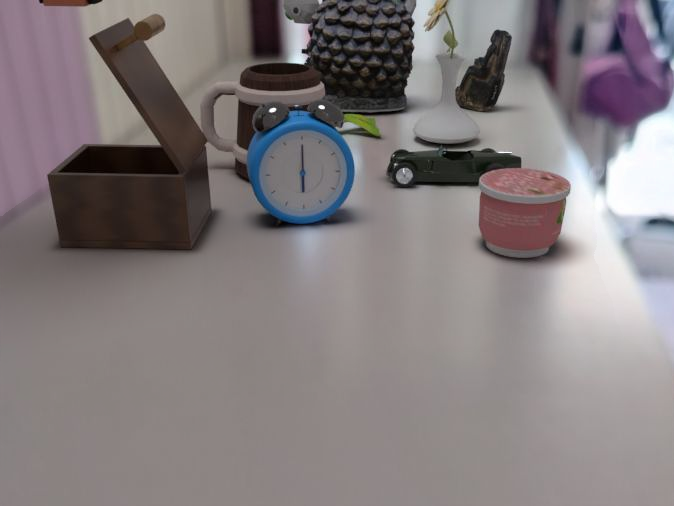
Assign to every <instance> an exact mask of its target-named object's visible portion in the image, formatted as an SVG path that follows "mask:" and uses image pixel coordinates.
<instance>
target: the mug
mask: <svg viewBox="0 0 674 506" xmlns="http://www.w3.org/2000/svg"><path fill="white" fill-rule="evenodd" d="M239 76H240V77H239V81H230V80H229V81H217V82H214V83H213V84H211V86H209V87H208V88H207V89H206V90H205V92H204V95H203V96H202V99H201V101H200V103H199V106H200V108H199V109H200V129H201V131H202V132H203V134H204V135H205V137H206V138H207V140H208V142H207V143H209V144H210V145H211V146H212V147H214V148H215V149H216V150H217V151H219V152H224V153H232V155H233V156H234V157H235V158H234V169H235V171H236V172H237V173H238V175H240V176H241V177H242V178H244V179H246V180H248V181H250V179H249V176H248V172H247V153H248V148H249V145H250V143H251V140H252V138H253V137H254V135H255V133H256V131H255V130H254V128H253V124H252V119H253V116H254V113H255V112H256V110H257V109H258V108H259V107H260V106H262V105H261V104H262V103H264V104H265V103H267V102H271V101H278V102H282V103H284V104H285V105H286V106H287V107H288V108H289V110H290V111H298V108H294V105H303V108H299V111H306V112H309V111H308V110H307V108H308V106H309V104H310V103H311V102H313V101H314V100H317V99H323V97H324V96H325V88H324V84H323V83H322V82H321V81H320V77H319V72H318V71H316V70H315V69H314V68H313V67H311V66H308V65H305V64H304V63H297V62H267V63H266V62H265V63H258V64H253V65H249V66H248V67H245V68H244V69H243V71H241V72H240V75H239ZM222 96H235V97H236V98H237V99H238V100H237V123H236V124H237V125H236V139H227V138H223V137H220V135H218V133H217V130H216V127H215V108H214V107H215V106H216V103H217V100H219V98H221V97H222Z"/></svg>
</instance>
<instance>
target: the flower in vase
mask: <svg viewBox="0 0 674 506" xmlns="http://www.w3.org/2000/svg"><path fill="white" fill-rule="evenodd" d="M450 3H451V0H435V3H434V5H433V7H432V8H430V10H429V11H428V12H427V16H429V18H428V19H426V21H425V22H424V23H423V28H425V29H424V32H430V31H431V30H433V29H434V28H435V26H437V24H438V23H439V22H440V20H441V18H442V17H443V15H444V14H445V16H446V19H447V21H448V24H449V27H450V29H448V30H447V32H446V33H445V34H444V36H443V38H442V40H443V42H444V43H445V44H446V45H447V46H448V48H447V50H446V53H439V54H436V55H435V58H436V60H437V61H438V64H439V67H440V70H441V81H442V83H441V96H440V99H439V101H438V103H437V104H436V105H435V106H434V107H433V108H431V109H430V110H429V111H428V112H426V113H425V114H423V116H421V117H420V118H419V119H418V120H417V121H416V122H415V124H414V126H413V128H412V132H413V134H414V135H415V136H416V137H417V138H419V139H421V140H424V141H427V142H430V143H436V144H447V145H448V144H449V145H450V144H462V143H466V142H470V141H472V140H475V139H476V138H477V137H478V135H480V133H481V130H480V126H479V125H478V124H477V122H476V121H475V120H474V119H473V118H472V117H471V116H470V115H469V114H468V113H467V112H466V111H464V110H463V109H462V108H461V106H460V105H458V104H457V102H456V97H455V89H456V88H457V80H458V75H459V71H460V69H461V66H462V65H463V63H464V62H465V60H466V59H467V56H466V55H465V54H461V53H454V50H455V49H456V48H457V47H458V46H459V42H458V40H457V39H456V36H455V29H454V27H453V23H452V20H451V17H450V15H449V13H448V11H447V9H448V6H449V4H450Z"/></svg>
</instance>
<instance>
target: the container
mask: <svg viewBox="0 0 674 506" xmlns="http://www.w3.org/2000/svg"><path fill="white" fill-rule="evenodd" d="M478 188H479V191H480V195H479V207H478V228H479V231H480V234H481V238H482V239H483V240H484V241H485V247H486V248H487V249H488V250H490V251H491V252H492V253H495V254H498V255H501V256H504V257H510V258H518V259H528V258H536V257H541V256H543V255H546V254H547V253H548V252H549V250H550V247H552V246H553V245H554V244H555V243H556V241H557V239H558V238H559V236H560V235H561V232H562V228H563V223H564V217H565V211H566V207H567V197H568V196H569V195H570V194H571V190H572V189H571V188H572V184H571V182H570V181H569V180H568V179H567V178H565V177H564V176H561V175H560V174H557V173H554V172H550V171H547V170H542V169H536V168H525V167H521V168H506V169H498V170H493V171H490V172H487V173H485V174H483V175H482V176H481V177H480V179H479V182H478Z"/></svg>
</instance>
